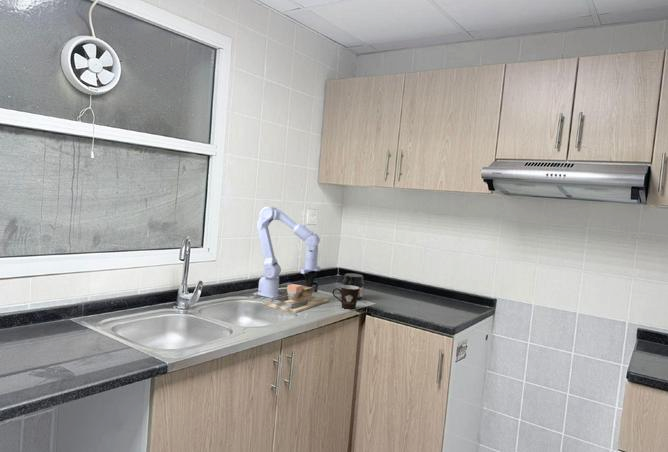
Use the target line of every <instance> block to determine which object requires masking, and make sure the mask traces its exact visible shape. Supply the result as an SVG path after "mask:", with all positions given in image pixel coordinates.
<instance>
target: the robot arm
mask: <svg viewBox="0 0 668 452" xmlns="http://www.w3.org/2000/svg"><path fill="white" fill-rule="evenodd" d="M273 221H279V222H282V223H284V224H285V225H286V226H288V227H289V228H290V229H292V230H293V234H294V235H295V236H297V237H298V238H300V240H302V241H303V242H305V244H306V249H305V262H304V263H305V264H304V267H303V268H301V269H300V274H301V275H302V274H303V276H304V278H305V284H306V286H307V287H312V285H313V282H314V281H315V279H316V278H317V275H318V272H320V271H321V267H320V266H318V256H319V243H320V242H321V241H320V239H321V238H320V236H319V235H318V234H317V233H314V231H313V230H312V231H311V230H309V229H308V228H307V226H306V225H305V224H301V223H300V224H297V223H296V222H295V221H294V220H293V219H292V218H291V217H289V216H288V215H287V214H285V213H284V212H283V211H282V210H281V209H279V208H278V207H276V206H264V207H263V208H261V210H260V212H259V213H258V219H257V222H256V228H257V229H256V230H257V233H258V236H259V241H260V245H261V251H262V253H263V254H262V255H263V259H264V262H263V275H264V276H262V277H260V279H259V281H258V292H257V293H256V295H258V296H261V297H266V298H271V299H275V298H279V297H283V296H282V294H279V286H280V276H279V275H281V272H282V269H281V266H280V264H279V262H278V260H277V258H276V256H275V252H274V248H273V243H272V238H271V234H270V229H269V226H270V224H271V223H272V222H273Z"/></svg>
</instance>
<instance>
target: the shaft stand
mask: <svg viewBox="0 0 668 452" xmlns="http://www.w3.org/2000/svg"><path fill="white" fill-rule="evenodd" d="M300 285H301V284H300ZM301 286H302V293H301V296H298V297H295V298H292V297H288V294H287V295H283V296H278V297H275V298H271V300H270V301H267V302H264V305H263V306H265V307H269V308H274V309H277V310H282V311H287V312H290V313H298V312H301V311H304V310H308V309H311V308H314V307H317V306H320V305H323V304H326V303H329V302H330V299H327V298H323V297H318V296H313V293H312V287H307V285H301Z"/></svg>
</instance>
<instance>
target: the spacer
mask: <svg viewBox="0 0 668 452" xmlns="http://www.w3.org/2000/svg"><path fill="white" fill-rule="evenodd" d="M302 286H303V285H302ZM302 286H301V284H297V283H296V284H294V283H292V284H288V285H287V287H286V292H287V293H288V292H290V293H295V294H297V293H301V292H302Z"/></svg>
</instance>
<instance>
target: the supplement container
mask: <svg viewBox="0 0 668 452" xmlns="http://www.w3.org/2000/svg"><path fill="white" fill-rule="evenodd" d="M363 280H364V276H363V275H362V274H360V273H359V274H358V273H344V279H343V281H342V282H343V283H342V286H343V285H352V286H357V287H359V293H358V298H357V301H360V300H362V299H363V292H364V283H365V282H364V281H363Z"/></svg>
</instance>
